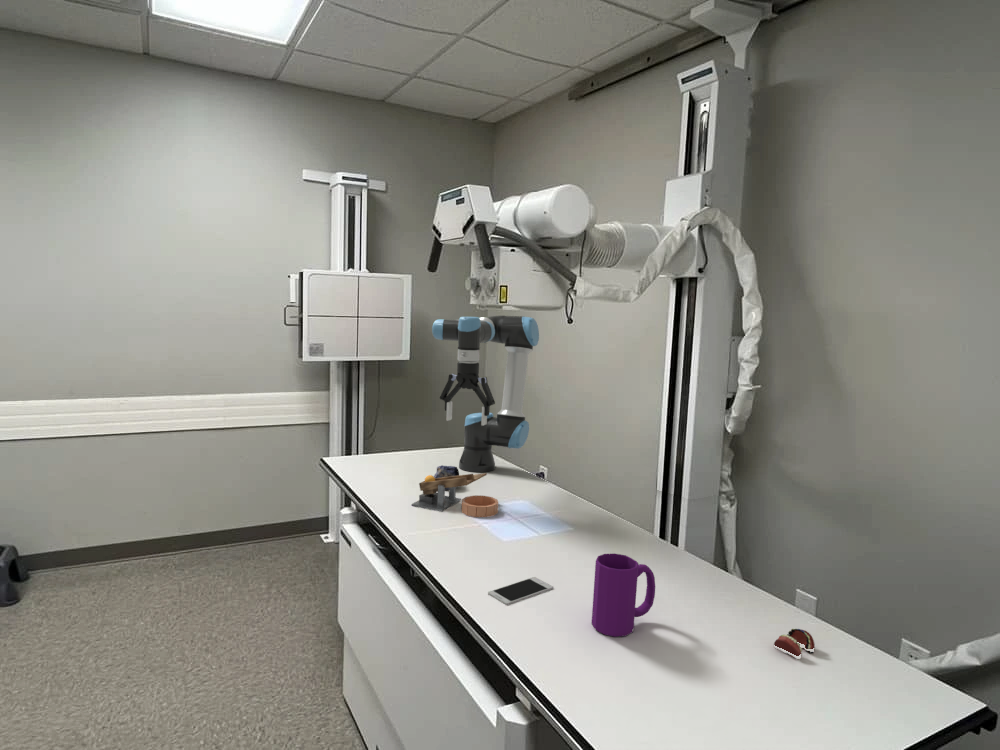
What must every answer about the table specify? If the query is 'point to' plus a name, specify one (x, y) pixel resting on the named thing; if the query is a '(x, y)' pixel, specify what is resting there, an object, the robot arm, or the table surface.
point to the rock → (446, 472)
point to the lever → (449, 482)
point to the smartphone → (520, 590)
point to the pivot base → (438, 499)
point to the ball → (429, 478)
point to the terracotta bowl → (479, 506)
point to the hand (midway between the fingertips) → (466, 422)
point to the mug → (619, 594)
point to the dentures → (795, 641)
